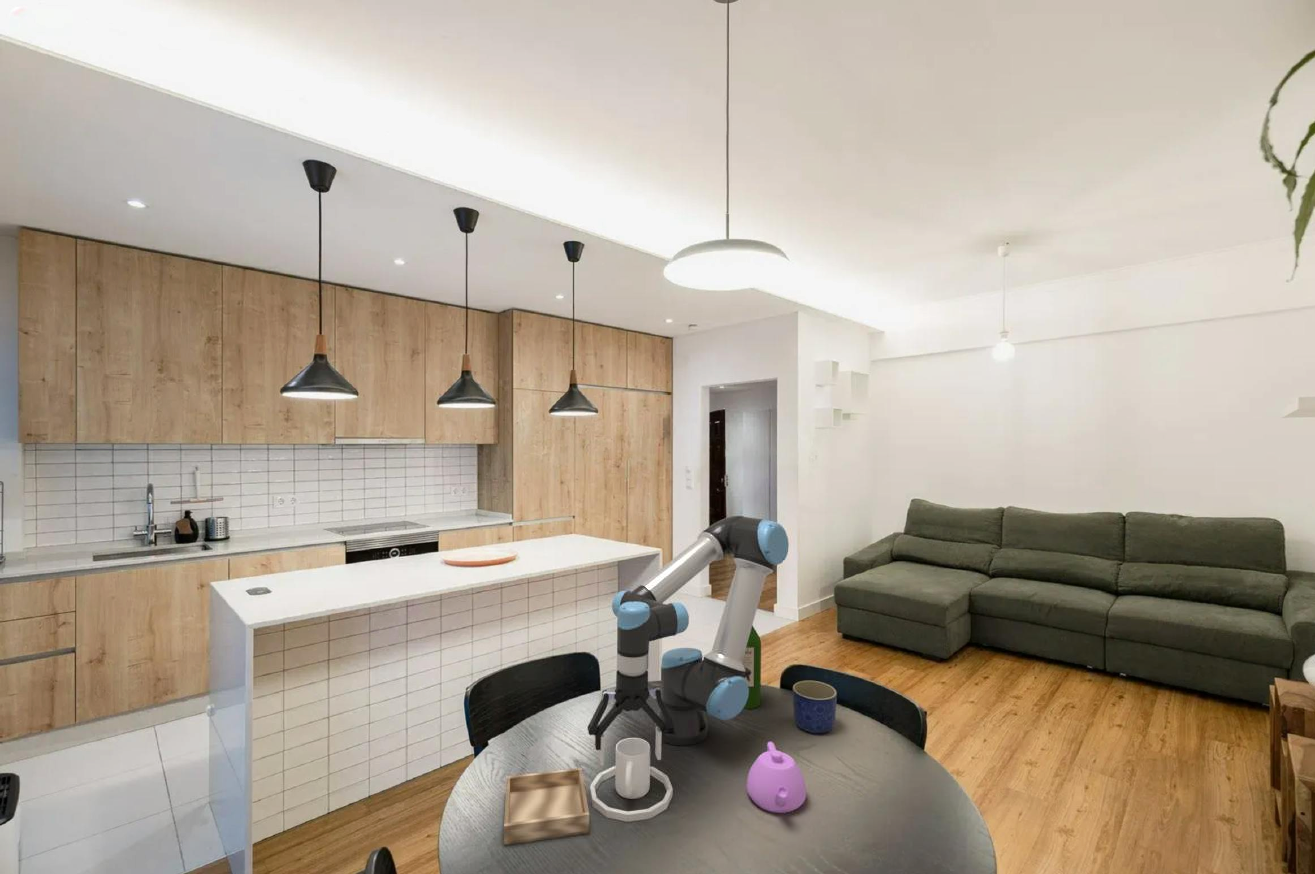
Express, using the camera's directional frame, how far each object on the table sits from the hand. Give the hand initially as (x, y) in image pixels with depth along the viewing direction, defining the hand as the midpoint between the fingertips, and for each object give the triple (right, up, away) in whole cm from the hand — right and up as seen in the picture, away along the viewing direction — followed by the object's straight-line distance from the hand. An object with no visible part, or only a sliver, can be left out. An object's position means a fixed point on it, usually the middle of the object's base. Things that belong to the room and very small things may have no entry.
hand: (630, 759), depth 137 cm
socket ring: (0, -8, 0) cm, 8 cm away
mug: (0, -9, 0) cm, 9 cm away
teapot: (+34, -9, -1) cm, 36 cm away
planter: (+52, -9, +33) cm, 62 cm away
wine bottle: (+35, -8, +47) cm, 59 cm away
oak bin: (-19, -8, -7) cm, 21 cm away
